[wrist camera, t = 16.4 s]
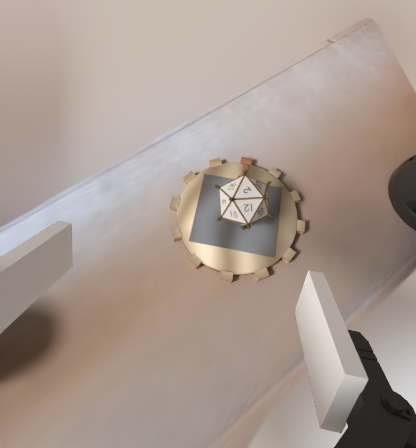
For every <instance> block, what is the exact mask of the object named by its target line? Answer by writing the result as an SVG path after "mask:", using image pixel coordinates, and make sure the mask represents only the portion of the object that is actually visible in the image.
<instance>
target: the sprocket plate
mask: <svg viewBox="0 0 416 448" xmlns="http://www.w3.org/2000/svg"><path fill="white" fill-rule="evenodd" d="M251 163H252V159H251V158H246V157H242V158H241V163H224V164H222V162H221V160H220V158H217V159H214V160H210V164H209V165H210V168H208V169H206V170H204V171H202V172H201V173H199V174H198V175H195V174H194V173H193V172H191V171H190V172H189V173H188V174H187V175H186V176H185V177H184V182H185V183H186V184H187V186H186V187H185V189H184V191H183V193H182V195H181V197H180V198H178V197H173V196H172V200H171V204H170V210H175V211H177V222H178V227H174V228H171V233H172V236H173V239H174V242H175V241H178V240H183V242H184V244H185V246H186V247H187V249H188V250H189V251H190V253H191V254H192V255H191V256H190V257H189V258H188V259H187V261H188V262H189V263H190V264H191V265H192V266H193V267H194V268H196V269H197V268H198V267H199V266H200V265H201V264H204V265H206V266H207V267H209V268H211V269H213V270H216V271H218V272H221V274H220V279H219V280H220V281H225V282H230V283H231V282H232V278H233V275H246V274H252V273H254V276H255V278H256V281H258V280H261V279H264V278H267V277H269V273H268V271H267V268H268V267H270V266H272V265H273V264H275V263H276V262H277V261H278V260H279V259H280V258H281V259H282V260H284V261H285V262H286V263H288V262H289V261H290V260H291V259H292V258H293V256H294V255H295V254H296V252H295V251H294V250H292V249H291V248H290V246H291V244H292V242H293V240H294V237H295V234H296V233H298V234H303V233H304V232H305V221H302V220H297V210H296V207H295V204H296V203H299V202H300V200H301V199H300V197H299V195H298V193H297V191H296V190H295V191H292V192H289V191H288V190H287V188H286V187H285V186H284V184H283V183H282V182H281V181H280V180H279V179H278V178H279V177H280V176H281V173H280V172H279V171H277V170H276V169H275V168H272V169H271V170H270V171H269V172H268V171H266V170H264V169H262V168H259V167H257V166H254V165H251ZM244 169H246V170H247V174H246V175H248V176H250V177H252V178H255V179H257V180H259V181H261V182H263V183H265V184H267V182H268V181H272V182H271V184H270V185H268V186H267V187H268V196H269V198H268V201H269V213H270V214H273V216H274V217H272V218H271V217H269V216H266V217H264V218H262V219H260V220H258V221H256V222H254V223H252V224H250V226H251V228H250V230H249V229H247V225H246V226H245V229H244V230H242V227H241V226H242V225H239V224H236V223H234V222H231V221H228V220H225V219H223V218H222V219H221V220H220V221H216V220H217V218H219V217H221V214H220V199H219V189H218V188H215V186H214V185H219V186H222V185H224V184H226V183H228V182H230V181H232V180H234V179H236V178H238V176H239V175H240V176H242V175H244V173H243V170H244Z"/></svg>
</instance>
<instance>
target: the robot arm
mask: <svg viewBox="0 0 416 448" xmlns="http://www.w3.org/2000/svg"><path fill="white" fill-rule="evenodd" d="M388 190H389V197H390V200H391V203H392V205H393V207H394V209H395V211H396V212H397V214H398V215H399V216H400V217H401V219H402V220H403V221H404V222H405V223H406V224H407V225H409V226H410V227H411V228H413V229H414V230H416V155H415V156H412V157H410V158H409V159H407V160H406V161H404V162H403V163H402V164H401V165H400V166H399V167H398V168H397V169H396V170H395V171H394V172H393V174H392V175H391V178H390V181H389V186H388ZM72 266H73V265H72V225H71V223H67V222H62V221H57V222H56V223H54V224H52V225H51V226H49V227H48V228H46V229H45V230H43V231H41V232H40V233H38V234H37V235H35V236H33V237H32V238H30V239H29V240H27V241H26V242H24V243H22V244H21V245H19V246H18V247H16V248H14V249H13V250H11V251H10V252H8V253H7V254H5V255H3V256H2V257H0V334H1V333H2V332H3V331H4V330H5V329H6V328H7V327H8V326H9V325H10V324H11V323H12V322H13V321H15V320H16V319H17V318H18V317H19V316H20V315H21V314H22V313H23V312H24V311H25V310H26V309H27V308H28V307H29V306H30V305H32V304H33V303H34V302H35V301H36V300H37V299H38V298H39V297H40V296H41V295H42V294H43V293H44V292H45V291H46V290H48V289H49V288H50V287H51V286H52V285H53V284H54V283H55V282H56V281H57V280H58V279H59V278H60V277H61V276H62V275H63V274H65V273H66V272H67V271H68V270H69V269H70V268H71V267H72ZM295 315H296V319H297V324H298V329H299V333H300V338H301V343H302V347H303V352H304V356H305V361H306V366H307V370H308V375H309V379H310V384H311V388H312V393H313V398H314V402H315V407H316V412H317V416H318V421H319V426H320V428H321V429H325V430H330V431H335V432H339V433H342V431H343V429H344V427H345V425H346V423H347V424H348V428H347V430H346V431H345V433H344V434H343V436H342V437H341V438H340V440H339V441H338V443H337V444H336V446H335V447H334V448H416V414H415V412H414V409H413V408H412V406H411V405H410V404H409V403H408V401H407V400H405V399H404V398H403V397H402V396H401V395H399V394H398V393H396V392H394V391H393V390H392V388H391V386H390V385H389V382H388V380H387V379H386V376H385V374H384V372H383V370H382V368H381V366H380V364H379V363H378V362H377V358H376V356H375V354H373V350H372V348H371V346H370V344H369V342H368V341H367V340H366V339H365V338H364V337H363V336H362V334H361V333H360V332H356V331H352V330H347V328H346V325H345V323H344V321H343V318H342V316H341V314H340V311H339V309H338V307H337V304H336V302H335V300H334V297H333V295H332V293H331V290H330V288H329V286H328V283H327V281H326V279H325V276H324V274H323V273H320V272H315V271H310V270H308V273H307V276H306V279H305V282H304V285H303V288H302V291H301V294H300V298H299V301H298V304H297V307H296V310H295Z"/></svg>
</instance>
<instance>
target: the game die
mask: <svg viewBox="0 0 416 448" xmlns="http://www.w3.org/2000/svg"><path fill="white" fill-rule="evenodd" d="M243 173H244V175H242V176H240V175H239V176H238V178H236V179H234V180H232V181H230V182H228V183H226V184H224V185H222V186H219V185H214V186H215V188H218V189H219V199H220V214H221V217H219V218H217V220H216V221H220V220H221V219H222V218H223V219H225V220H228V221H231V222H234V223H236V224H239V225H242V226H241V227H242V230H244V229H245V226H246V225H247V229H249V230H250V228H251V226H250V224H252V223H254V222H256V221H258V220H260V219H262V218H264V217H266V216H269V217H271V218H272V217H274V216H273V214H270V213H269V201H268V198H269V196H268V187H267V186H268V185H270V184H271V182H272V181H268V182H267V184H265V183H263V182H261V181H259V180H257V179H255V178H252V177H250V176H248V175H246V174H247V170H246V169H244V170H243Z"/></svg>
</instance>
